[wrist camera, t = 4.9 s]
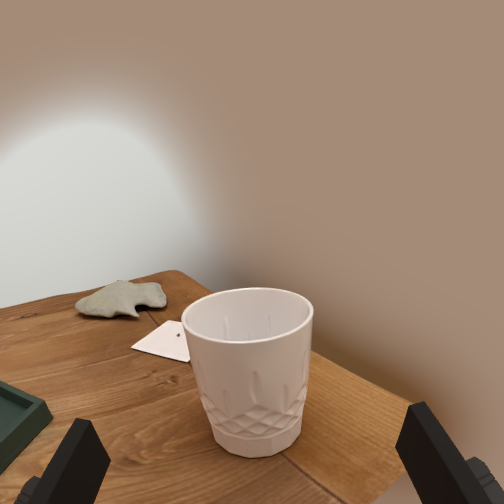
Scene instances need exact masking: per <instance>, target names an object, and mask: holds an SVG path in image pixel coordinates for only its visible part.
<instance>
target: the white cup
mask: <svg viewBox="0 0 504 504" xmlns="http://www.w3.org/2000/svg"><path fill="white" fill-rule="evenodd" d="M313 313H314V311H313V307H312V304H311V303H310V302H309V301H308V300H307V299H306V298H304V297H302V296H301V295H298V294H296V293H293V292H290V291H286V290H281V289H273V288H242V289H233V290H227V291H222V292H219V293H214V294H211V295H208V296H206V297H203V298H201V299H199V300H197V301H195V302H193V303H192V304H191V305H189V306H188V307H187V308H186V309H185V311H184V312H183V314H182V318H181V321H182V326H183V330H184V334H185V339H186V343H187V347H188V351H189V356H190V360H191V364H192V368H193V372H194V376H195V380H196V383H197V387H198V391H199V396H200V398H201V401H202V404H203V407H204V411H205V412H206V414H207V416H208V419H209V421H210V425H211V429H212V432H213V435H214V438H215V441H216V442H217V443H218V444H219V445H220V446H222V447H223V448H224V449H225V450H227V451H228V452H229V453H232V454H236V455H240V456H244V457H248V458H255V457H265V456H272V455H274V454H276V453H278V452H280V451H282V450H284V449H286V448H288V447H290V446H291V445H292V443H293V442H294V441H295V439H296V438H297V437H298V436H299V434H300V432H301V423H302V413H303V407H304V404H305V402H306V394H307V387H308V379H309V368H310V355H311V341H312V328H313V327H312V326H313Z"/></svg>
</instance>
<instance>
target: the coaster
mask: <svg viewBox="0 0 504 504" xmlns="http://www.w3.org/2000/svg"><path fill="white" fill-rule="evenodd" d="M131 348H134V349H137V350H141V351H145V352H148V353H152V354H156V355H160V356H164V357H168V358H172V359H176V360H180V361H185V362H188V361H189V360H190V356H189V351H188V347H187V343H186V339H185V334H184V330H183V326H182V323H181V322H175V321H169V320H168V321H167V322H165V323H164V324H163V325H161V326H160V327H158V328H157V329H156V330H154V331H153V332H151V333H150V334H149V335H147V336H146V337H144V338H143V339H142V340H140V341H139V342H137V343H136V344H135V345H133V346H132V347H131Z"/></svg>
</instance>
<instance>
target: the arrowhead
mask: <svg viewBox="0 0 504 504" xmlns="http://www.w3.org/2000/svg"><path fill="white" fill-rule="evenodd" d="M140 304H143V305H147V306H149V307H164V306H165V305H166V295H165V294H164V293H163V291H162V289H161V286H160V285H159V284H158V283H145V284H133V283H131V282H128V281H123V280H120V281H119V280H118V281H116V282H114V283H111V284H109V285H107V286H105V287H104V288H102V289H101V290H99V291H97V292H95V293H94V294H92V295H90V296H88V297H85V298H82V299H81V300H79V301H78V302H77V303H76V305H75V308H76V309H77V310H79V312H80V313H82V314H86V315H94V316H105V317H113V316H115V315H119V314H125V315H131V316H133V317H139V315H138V314H137V313H136V311H135V308H134V307H135V306H136V305H140Z"/></svg>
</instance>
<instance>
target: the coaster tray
mask: <svg viewBox="0 0 504 504" xmlns="http://www.w3.org/2000/svg"><path fill="white" fill-rule="evenodd" d="M52 419H53V417H52V415H51V413H50V411H49V409H48V407H47V405H46V403H45V401H44V400H42V399H40V398H37V397H35V396H33V395H30V394H28V393H26V392H24V391H21V390H19V389H17V388H15V387H13V386H11V385H8V384H6V383H4V382H2V381H0V474H1V473H2V472H3V471H4V469H5V468H6V467H7V466H8V465H9V464H10V463H11V462H12V461H13V460H14V459H15V458H16V457H17V456H18V454H19V453H20V452H21V451H22V450H23V449H24V448H25V447H26V446H27V445H28V444H29V443H30V442H31V441H32V440H33V439H34V438H35V436H36V435H37V434H38V433H39V432H40V431H41V430H42V429H43V428H44V427H45V426H46V425H47V424H48V423H49V422H50V421H51V420H52Z"/></svg>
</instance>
